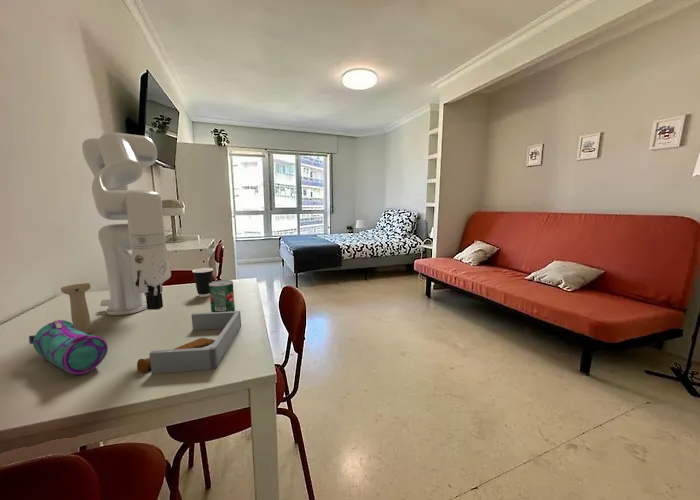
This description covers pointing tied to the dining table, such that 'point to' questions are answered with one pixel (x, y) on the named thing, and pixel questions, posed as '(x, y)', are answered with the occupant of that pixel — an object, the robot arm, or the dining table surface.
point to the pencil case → (69, 347)
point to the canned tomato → (222, 296)
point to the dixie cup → (203, 280)
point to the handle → (78, 306)
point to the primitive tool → (146, 364)
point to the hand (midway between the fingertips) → (155, 308)
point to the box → (199, 356)
